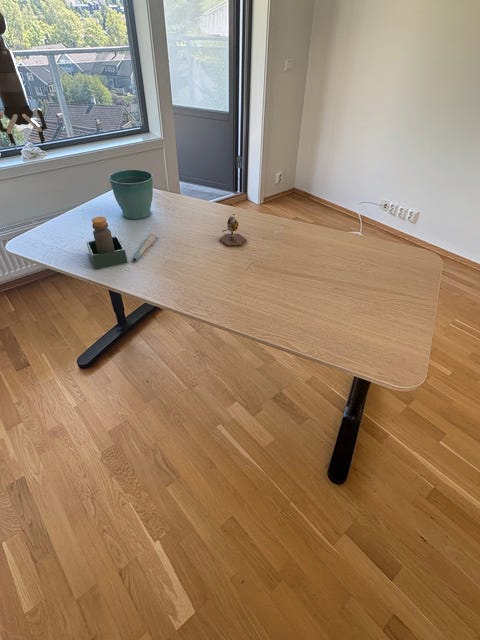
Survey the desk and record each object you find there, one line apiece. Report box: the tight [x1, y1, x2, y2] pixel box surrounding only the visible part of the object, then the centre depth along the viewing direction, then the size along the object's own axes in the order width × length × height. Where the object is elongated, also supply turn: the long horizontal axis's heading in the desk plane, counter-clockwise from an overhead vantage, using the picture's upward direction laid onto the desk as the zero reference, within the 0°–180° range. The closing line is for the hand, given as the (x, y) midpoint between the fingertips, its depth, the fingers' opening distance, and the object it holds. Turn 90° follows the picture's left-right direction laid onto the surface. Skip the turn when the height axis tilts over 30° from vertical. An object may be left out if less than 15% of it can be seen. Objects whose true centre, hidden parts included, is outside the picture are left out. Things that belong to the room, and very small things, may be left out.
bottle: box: [91, 216, 115, 254], centre depth 123 cm, size 6×6×15 cm
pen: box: [132, 232, 157, 263], centre depth 133 cm, size 19×3×3 cm, turn 169°
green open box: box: [86, 235, 128, 270], centre depth 126 cm, size 11×11×6 cm
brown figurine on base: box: [219, 213, 247, 247], centre depth 139 cm, size 11×9×12 cm
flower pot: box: [108, 169, 154, 220], centre depth 152 cm, size 18×18×17 cm
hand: (29, 144), depth 121 cm, fingers open, 8 cm apart
